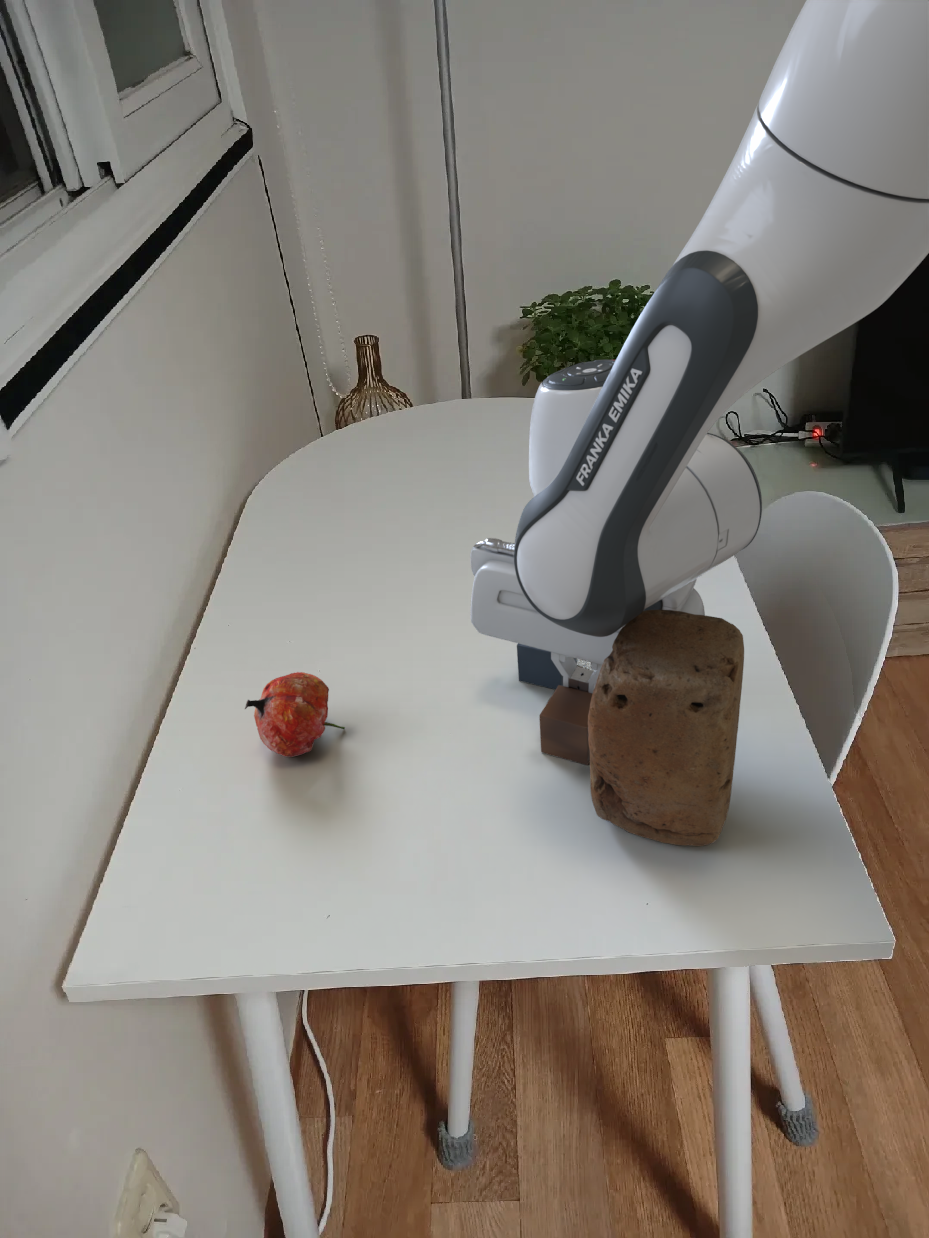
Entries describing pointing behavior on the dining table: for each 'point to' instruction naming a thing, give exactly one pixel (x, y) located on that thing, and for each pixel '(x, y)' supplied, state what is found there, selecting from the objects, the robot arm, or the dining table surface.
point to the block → (667, 726)
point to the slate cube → (538, 667)
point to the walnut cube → (566, 725)
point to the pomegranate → (292, 713)
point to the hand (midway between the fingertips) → (581, 689)
